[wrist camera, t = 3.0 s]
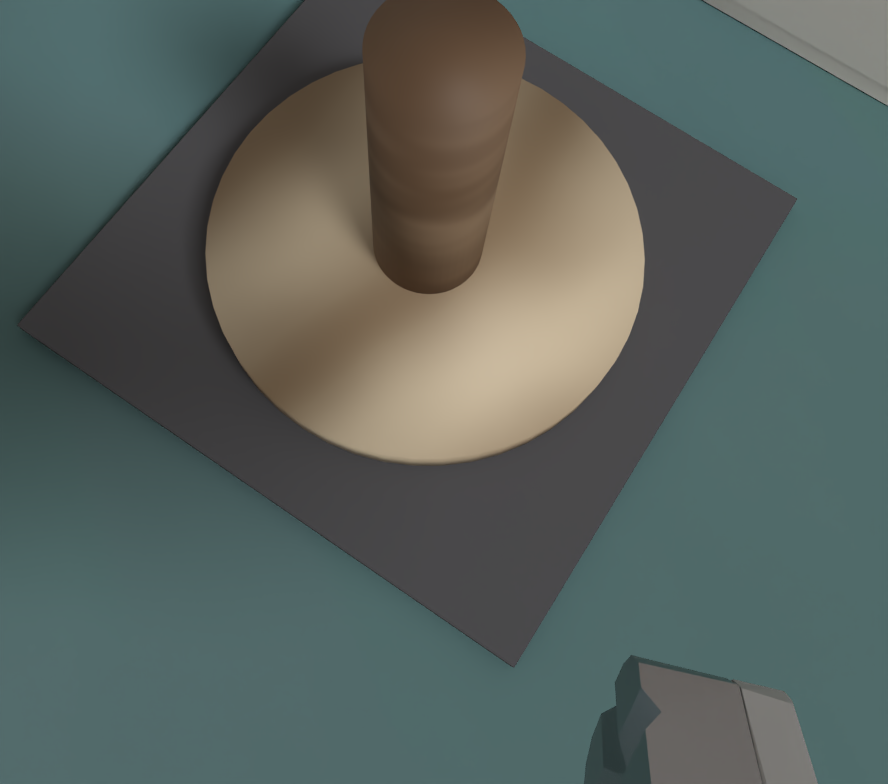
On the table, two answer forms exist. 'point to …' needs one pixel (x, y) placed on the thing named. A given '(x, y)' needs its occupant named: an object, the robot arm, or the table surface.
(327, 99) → the lid
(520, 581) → the mat
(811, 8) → the white hollow square box
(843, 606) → the table surface
